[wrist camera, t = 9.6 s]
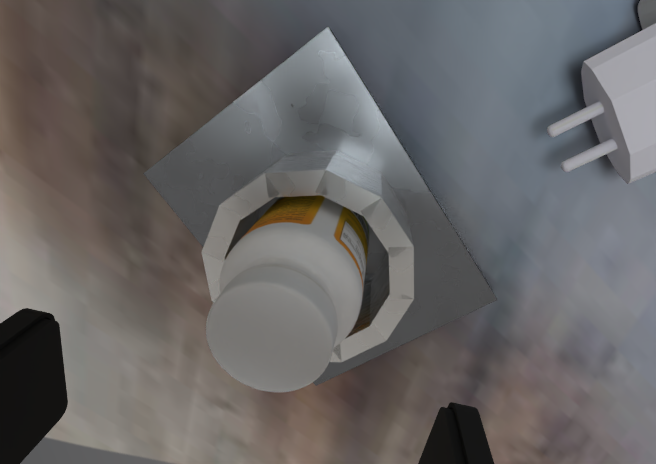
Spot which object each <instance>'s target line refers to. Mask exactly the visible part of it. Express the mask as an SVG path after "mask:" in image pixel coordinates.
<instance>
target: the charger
mask: <svg viewBox="0 0 656 464" xmlns="http://www.w3.org/2000/svg"><path fill="white" fill-rule="evenodd" d="M638 15H639V19H640V23H641V27H642V31H640V32H638V33H636V34H634V35H633V36H631V37H629V38H627V39H625V40H623V41H621V42H619V43H617V44H616V45H614V46H612V47H610V48H608V49H606V50H604V51H602V52H601V53H599V54H597V55H595V56H593V57H591V58H589V59H587V60H585V61H584V62H583V66H582V70H581V76H582V85H583V94H584V101H585V104H586V106H587V107H586V108H584V109H582V110H580V111H578V112H576V113H574V114H572V115H570V116H568V117H566V118H564V119H562V120H560V121H558V122H556V123H554V124H552V125H550V126H548V128H547V133H548V135H550V136H551V137H555V136H557V135H559V134H561V133H563V132H565V131H567V130H569V129H571V128H573V127H575V126H577V125H579V124H581V123H584V122H586V121H588V120H590V119H591V120H592V123H593V125H594V128H595V131H596V134H597V136H598V139H599V142H600V144H599V145H596V146H594V147H592V148H590V149H588V150H586V151H584V152H582V153H579V154H577V155H575V156H573V157H571V158H569V159H567V160H565V161H562V163H561V168H562V169H563V170H564V171H565V172H569V171H571V170H573V169H575V168H577V167H580V166H582V165H584V164H586V163H588V162H590V161H593V160H595V159H597V158H599V157H601V156H603V155H607V156H608V158H609V160H610V161H611V163H612V165H613V166H614V168H615V169H616V171H617V173H618V174H619V175H620V176H621V177H622V179H623V180H624V181H625V182H626V183H627V184H629V183H631V182H634V181H636V180H638V179H641V178H643V177H645V176H647V175H650V174H652V173H654V172H656V0H640V1H639V4H638Z"/></svg>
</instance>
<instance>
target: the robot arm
mask: <svg viewBox="0 0 656 464" xmlns="http://www.w3.org/2000/svg"><path fill="white" fill-rule="evenodd" d="M67 404H68V400H67V391H66V382H65V373H64V364H63V355H62V345H61V336H60V327H59V323H58V322H57V321H55V319H54V316H53V315H52V314H50V313H46V312H42V311H37V310H33V309H28V308H26V309H22V310H20V311H18V312H17V313H15V314H14V315H12V316H11V317H9V318H8V319H6V320H5V321H3V322H2V323H0V464H20V463H21V462H22V461H23V459H24V458H25V457H26V456H27V455H28V454H29V453H30V452H31V451H32V450H33V449H34V447H35V446H36V445H37V444H38V443H39V442H40V441H41V440H42V438H43V437H44V436H45V435H46V434H47V433H48V432H49V431H50V430H51V429H52V427H53V426H54V425H55V424H56V423H57V422H58V421H59V420H60V419H61V417H62V416H63V414H64V413H65V411H66V408H67ZM418 464H494V462H493V458H492V455H491V452H490V448H489V445H488V442H487V438H486V435H485V432H484V428H483V425H482V422H481V418H480V415H479V412H478V410H477V409H476V408H475V407H470V406H466V405H461V404H457V403H450V404H449V405H448V407H447V408H445V407H441V408H440V410H439V412H438V415H437V417H436V420H435V422H434V425H433V427H432V430H431V433H430V435H429V438H428V440H427V443H426V445H425V448H424V450H423V453H422V456H421V458H420V461H419V463H418Z"/></svg>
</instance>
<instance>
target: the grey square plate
mask: <svg viewBox="0 0 656 464" xmlns="http://www.w3.org/2000/svg"><path fill="white" fill-rule="evenodd" d="M143 174H144V175H145V176H146V177H147V179H148V180H149V181H150V182H151V184H152V185H153V186H154V187H155V189H156V190H157V191H158V192H159V193H160V195H161V196H162V197H163V198H164V200H165V201H166V202H167V203H168V205H169V206H170V207H171V208H172V209H173V211H174V212H175V213H176V214H177V216H178V217H179V218H180V219H181V221H182V222H183V223H184V224H185V225H186V227H187V228H188V229H189V230H190V232H191V233H192V234H193V235H194V237H195V238H196V239H197V240H198V241H199V243H200V244H201V245H202V246H203V250H202V257H203V262H204V267H205V271H206V276H207V281H208V286H209V290H210V295H211V300H212V302H213V303H214V302H215V301H216V299H217V298H218V296H219V295H220V290H219V282H220V274H221V270H222V267H223V264H224V262H225V260H226V258H227V256H228V254H229V253H230V251H231V250H232V249H233V247H234V246H235V245H236V244H237V242H238V241H239V240H240V239H241V238H242V237H243V236H244V235H245V234H246V233H247V232H248V230H249V229H250V228H251V227H252V226H253V225H254V224H255V223H256V222H257V221H258V220H259V219H260V218H261V217H262V216H263V215H264V213H265V212H266V211H267V210H268V209H269V208H270V207H271V206H272V205H273V204H274V203H275V202H276V201H277V200H278V199H279V198H280V197H294V196H315V195H321V196H324V197H326V198H328V199H330V200H332V201H334V202H336V203H338V204H340V205H342V206H344V207H346V208H348V209H350V210H352V211H354V212H356V213H358V214H360V215H362V216H364V218H365V219H366V221H367V223H368V229H369V245H368V254H367V263H366V271H365V279H364V287H363V297H362V303H361V308H360V312H359V315H358V318H357V321H356V323H355V325H354V327H353V329H352V330H351V332H350V333H349V334H348V336H347V337H346V338H345V339H344V340H343V341H342V342H341V343H340V344H338V345H337V346H336V347H334V348H333V352H332V356H331V359H330V362H329V364H328V366H327V368H326V369H325V371H324V372H323V373H322V374H321V375H320V377H319V378H317V379H316V380H315V381H314V382H313V383H314V384H315V385H318V384H321V383H323V382H325V381H327V380H329V379H331V378H333V377H335V376H337V375H340V374H342V373H344V372H346V371H348V370H350V369H352V368H354V367H356V366H359V365H361V364H363V363H365V362H367V361H369V360H371V359H373V358H375V357H378V356H380V355H382V354H384V353H386V352H388V351H390V350H392V349H395V348H397V347H399V346H401V345H403V344H405V343H407V342H409V341H411V340H414V339H416V338H418V337H420V336H422V335H424V334H426V333H428V332H430V331H433V330H435V329H437V328H439V327H441V326H443V325H445V324H447V323H449V322H452V321H454V320H456V319H458V318H460V317H462V316H464V315H466V314H468V313H471V312H473V311H475V310H477V309H479V308H481V307H483V306H485V305H487V304H490V303H492V302H494V301H496V300H497V298H496V297H495V295H494V293H493V291H492V289H491V288H490V286H489V284H488V283H487V281H486V280H485V278H484V276H483V275H482V273H481V272H480V270H479V268H478V267H477V265H476V263H475V262H474V260H473V259H472V257H471V255H470V254H469V252H468V251H467V249H466V247H465V246H464V244H463V242H462V241H461V239H460V238H459V236H458V234H457V233H456V231H455V230H454V228H453V226H452V225H451V223H450V221H449V220H448V218H447V217H446V215H445V213H444V212H443V210H442V209H441V207H440V205H439V204H438V202H437V200H436V199H435V197H434V196H433V194H432V192H431V191H430V189H429V188H428V186H427V184H426V183H425V181H424V179H423V178H422V176H421V175H420V173H419V171H418V170H417V168H416V167H415V165H414V163H413V162H412V160H411V159H410V157H409V155H408V154H407V152H406V150H405V149H404V147H403V146H402V144H401V142H400V141H399V139H398V138H397V136H396V134H395V133H394V131H393V129H392V128H391V126H390V125H389V123H388V121H387V120H386V118H385V117H384V115H383V113H382V112H381V110H380V108H379V107H378V105H377V104H376V102H375V100H374V99H373V97H372V96H371V94H370V92H369V91H368V89H367V87H366V86H365V84H364V83H363V81H362V79H361V78H360V76H359V75H358V73H357V71H356V70H355V68H354V67H353V65H352V63H351V62H350V60H349V58H348V57H347V55H346V54H345V52H344V50H343V49H342V47H341V46H340V44H339V42H338V41H337V39H336V37H335V36H334V34H333V33H332V31H331V29H330V28H329V27H327V28H326V29H325V30H323V31H322V32H321V33H319V34H318V35H317V36H316V37H314V38H313V39H312V40H311V41H309V42H308V43H307V44H306V45H304V46H303V47H302V48H301V49H299V50H298V51H297V52H296V53H294V54H293V55H292V56H291V57H289V58H288V59H287V60H286V61H284V62H283V63H282V64H280V65H279V66H278V67H277V68H275V69H274V70H273V71H272V72H270V73H269V74H268V75H267V76H265V77H264V78H263V79H262V80H260V81H259V82H258V83H257V84H255V85H254V86H253V87H252V88H250V89H249V90H248V91H246V92H245V93H244V94H243V95H241V96H240V97H239V98H238V99H236V100H235V101H234V102H233V103H231V104H230V105H229V106H228V107H226V108H225V109H224V110H223V111H221V112H220V113H219V114H218V115H216V116H215V117H214V118H213V119H211V120H210V121H209V122H207V123H206V124H205V125H204V126H202V127H201V128H200V129H199V130H197V131H196V132H195V133H194V134H192V135H191V136H190V137H189V138H187V139H186V140H185V141H184V142H182V143H181V144H180V145H179V146H177V147H176V148H175V149H174V150H172V151H171V152H170V153H168V154H167V155H166V156H165V157H163V158H162V159H161V160H160V161H158V162H157V163H156V164H155V165H153V166H152V167H151V168H150V169H148V170H147V171H146V172H145V173H143Z"/></svg>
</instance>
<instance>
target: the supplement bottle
mask: <svg viewBox="0 0 656 464" xmlns="http://www.w3.org/2000/svg"><path fill="white" fill-rule="evenodd" d="M368 245H369V229H368V223H367V221H366V219H365V218H364V216H362V215H360V214H358V213H356V212H354V211H352V210H350V209H348V208H346V207H344V206H342V205H340V204H338V203H336V202H334V201H332V200H330V199H328V198H326V197H324V196H321V195H315V196H294V197H280V198H279V199H278V200H277V201H276V202H275V203H274V204H273V205H272V206H271V207H270V208H269V209H268V210H267V211H266V212H265V213H264V215H263V216H262V217H261V218H260V219H259V220H258V221H257V222H256V223H255V224H254V225H253V226H252V227H251V228H250V229H249V230H248V232H247V233H246V234H245V235H244V236H243V237H242V238H241V239H240V240H239V241H238V242H237V244H236V245H235V246H234V247H233V249H232V250H231V251H230V253H229V254H228V256H227V258H226V260H225V262H224V264H223V267H222V270H221V274H220V282H219V290H220V295H219V296H218V298H217V299H216V301H215V302H214V303H213V305H212V307H211V309H210V311H209V314H208V317H207V322H206V337H207V342H208V345H209V348H210V350H211V352H212V354H213V356H214V358H215V359H216V361H217V362H218V363H219V365H220V366H221V367H222V368H223V369H224V370H225V371H226V372H227V373H228V374H229V375H231V376H232V377H233V378H235V379H236V380H238V381H239V382H241V383H243V384H245V385H247V386H250V387H252V388H255V389H258V390H262V391H268V392H290V391H294V390H298V389H300V388H303V387H305V386H307V385H309V384H311V383H312V382H314V381H315V380H316V379H317V378H319V377H320V375H321V374H322V373H323V372H324V371H325V369H326V368H327V366H328V364H329V362H330V359H331V356H332V352H333V348H334V347H336V346H337V345H338V344H340V343H341V342H342V341H343V340H344V339H345V338H346V337H347V336H348V334H349V333H350V332H351V330H352V329H353V327H354V325H355V323H356V321H357V318H358V315H359V312H360V308H361V303H362V297H363V287H364V279H365V271H366V263H367V254H368Z"/></svg>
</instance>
